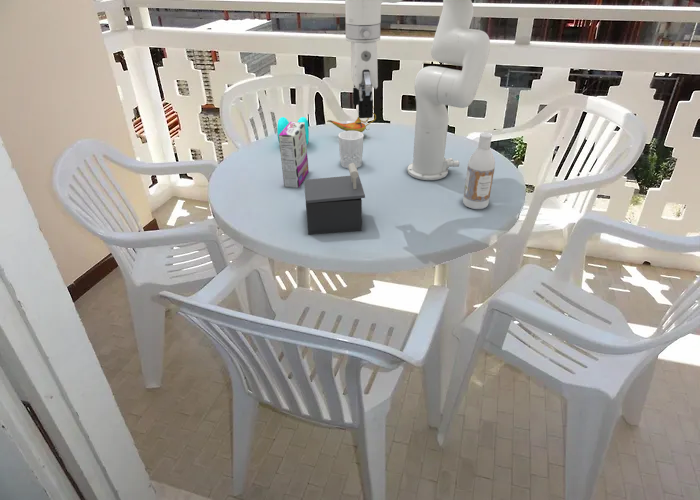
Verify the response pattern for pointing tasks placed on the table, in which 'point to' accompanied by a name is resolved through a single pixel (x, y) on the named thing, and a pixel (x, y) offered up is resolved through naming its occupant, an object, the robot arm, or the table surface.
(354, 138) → the white cup
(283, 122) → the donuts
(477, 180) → the bath foam
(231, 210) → the table surface
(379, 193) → the table surface
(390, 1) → the robot arm
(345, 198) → the brewer lid
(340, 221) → the dark grey storage bin
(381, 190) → the table surface
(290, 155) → the candy bar box
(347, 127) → the magic lamp
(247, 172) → the table surface
